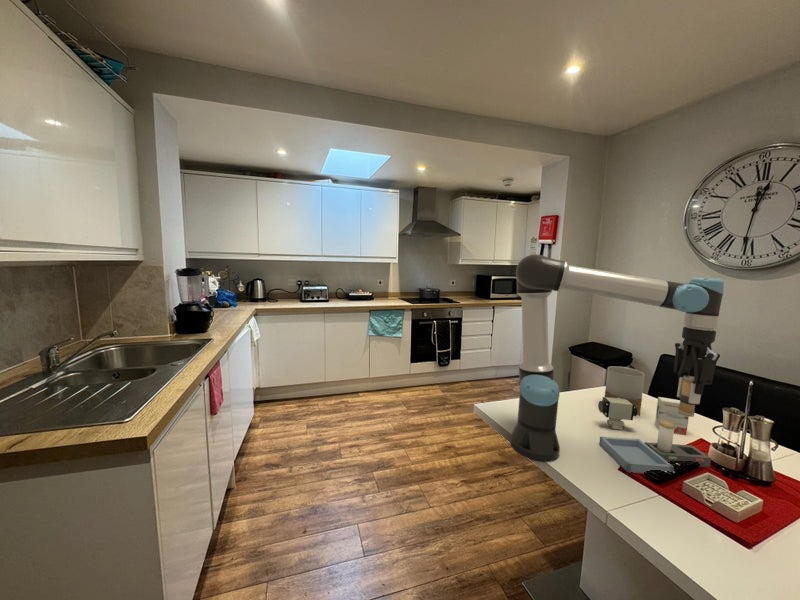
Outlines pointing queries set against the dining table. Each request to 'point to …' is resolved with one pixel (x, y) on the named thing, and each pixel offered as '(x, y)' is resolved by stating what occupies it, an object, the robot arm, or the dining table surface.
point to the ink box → (671, 414)
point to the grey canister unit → (625, 385)
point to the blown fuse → (686, 398)
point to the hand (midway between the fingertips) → (687, 399)
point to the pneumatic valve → (617, 411)
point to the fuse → (665, 436)
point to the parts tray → (634, 455)
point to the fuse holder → (682, 454)
